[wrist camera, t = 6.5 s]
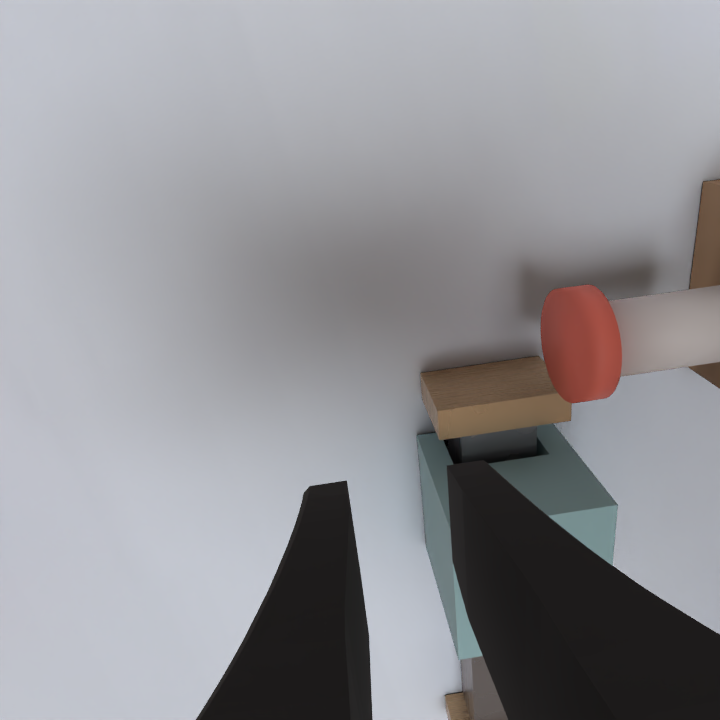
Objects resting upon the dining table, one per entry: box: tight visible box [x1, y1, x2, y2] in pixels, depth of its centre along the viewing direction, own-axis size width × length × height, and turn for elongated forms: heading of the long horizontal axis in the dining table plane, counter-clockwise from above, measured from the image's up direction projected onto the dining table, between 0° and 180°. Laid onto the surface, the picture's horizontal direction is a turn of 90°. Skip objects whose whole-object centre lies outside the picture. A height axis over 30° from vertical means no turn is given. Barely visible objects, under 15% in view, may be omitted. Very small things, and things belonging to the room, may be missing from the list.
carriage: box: [417, 423, 618, 660], centre depth 19 cm, size 5×5×5 cm
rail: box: [420, 356, 572, 720], centre depth 21 cm, size 4×17×3 cm, turn 7°
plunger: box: [541, 284, 720, 403], centre depth 15 cm, size 5×3×3 cm, turn 97°
